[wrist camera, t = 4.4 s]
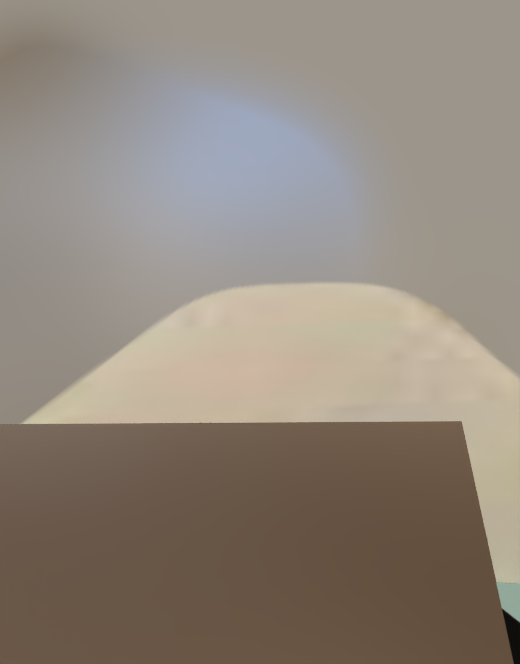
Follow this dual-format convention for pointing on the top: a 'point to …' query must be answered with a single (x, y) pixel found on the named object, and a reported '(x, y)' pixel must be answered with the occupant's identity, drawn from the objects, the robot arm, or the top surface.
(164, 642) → the walnut block
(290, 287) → the top surface
